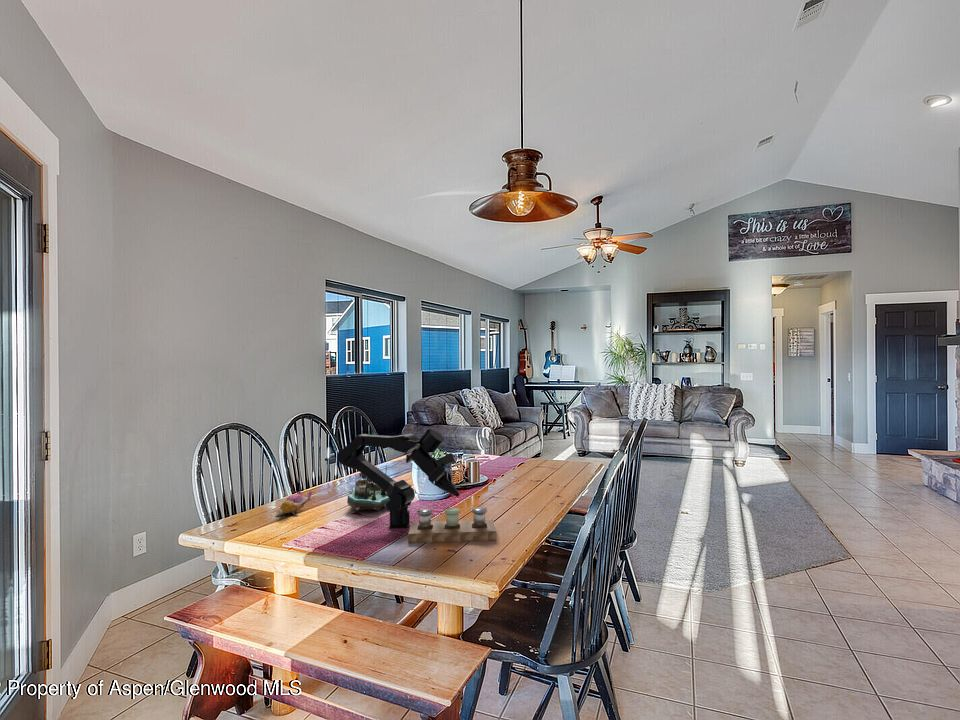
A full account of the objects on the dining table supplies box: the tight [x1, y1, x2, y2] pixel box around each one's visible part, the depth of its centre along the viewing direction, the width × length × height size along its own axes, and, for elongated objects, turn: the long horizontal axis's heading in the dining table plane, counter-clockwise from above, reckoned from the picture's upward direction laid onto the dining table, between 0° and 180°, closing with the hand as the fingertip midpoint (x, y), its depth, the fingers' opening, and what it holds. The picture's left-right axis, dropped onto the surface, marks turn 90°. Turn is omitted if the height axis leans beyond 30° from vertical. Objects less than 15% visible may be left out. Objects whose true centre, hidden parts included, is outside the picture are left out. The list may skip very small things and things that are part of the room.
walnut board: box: [407, 519, 497, 544], centre depth 176 cm, size 28×12×3 cm, turn 92°
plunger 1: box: [416, 508, 434, 527], centre depth 175 cm, size 5×5×5 cm
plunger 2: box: [471, 506, 488, 525], centre depth 176 cm, size 5×5×5 cm
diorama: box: [346, 464, 390, 512], centre depth 213 cm, size 19×25×19 cm
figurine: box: [274, 490, 313, 517], centre depth 211 cm, size 12×7×30 cm
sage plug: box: [444, 507, 461, 526], centre depth 176 cm, size 5×5×5 cm
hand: (457, 494), depth 179 cm, fingers open, 9 cm apart
